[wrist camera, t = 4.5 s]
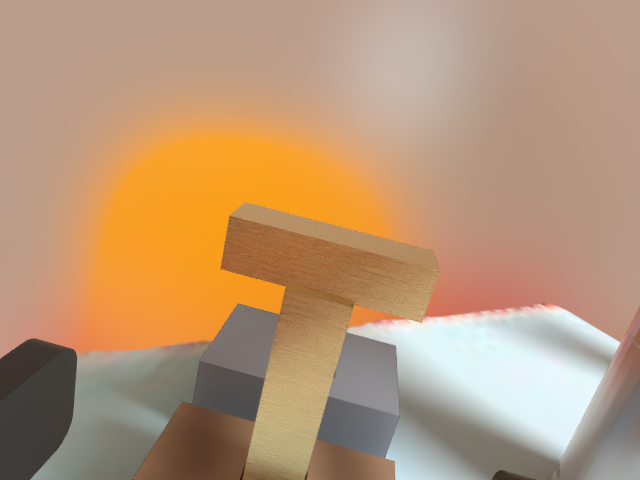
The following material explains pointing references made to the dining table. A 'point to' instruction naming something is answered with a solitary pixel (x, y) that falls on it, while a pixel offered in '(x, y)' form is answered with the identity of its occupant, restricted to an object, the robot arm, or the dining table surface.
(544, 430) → the dining table surface
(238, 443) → the block
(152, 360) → the dining table surface
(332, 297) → the t key
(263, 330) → the block
